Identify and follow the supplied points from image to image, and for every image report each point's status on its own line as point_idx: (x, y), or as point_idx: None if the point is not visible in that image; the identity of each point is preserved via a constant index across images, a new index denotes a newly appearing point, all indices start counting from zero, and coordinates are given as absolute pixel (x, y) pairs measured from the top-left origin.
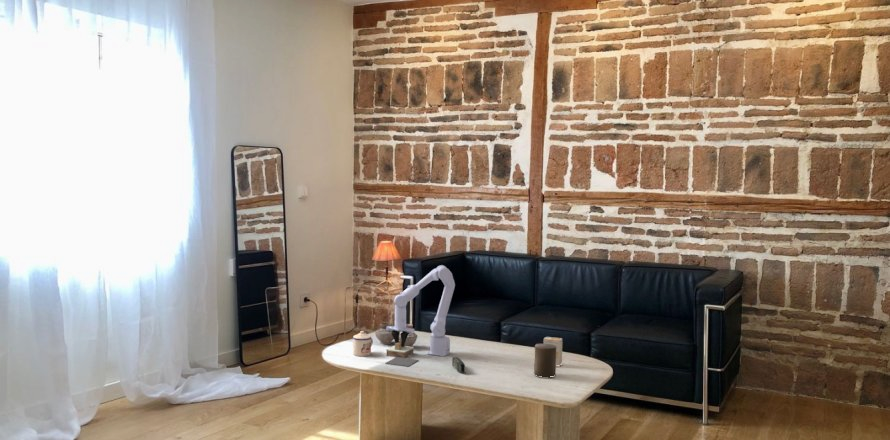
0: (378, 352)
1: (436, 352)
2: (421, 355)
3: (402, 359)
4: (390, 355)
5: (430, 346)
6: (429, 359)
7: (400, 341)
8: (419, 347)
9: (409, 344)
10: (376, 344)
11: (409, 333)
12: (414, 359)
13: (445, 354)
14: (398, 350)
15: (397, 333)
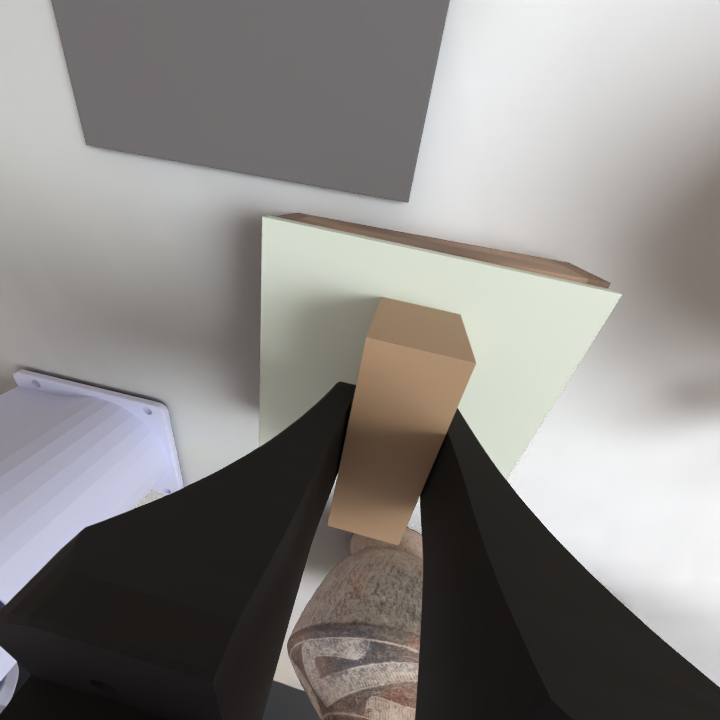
0: (687, 399)
1: (70, 405)
2: (193, 367)
3: (279, 68)
4: (510, 253)
5: (108, 474)
6: (46, 242)
7: (396, 506)
8: (311, 550)
9: (359, 556)
10: (678, 612)
11: (342, 702)
12: (137, 140)
13: (14, 389)
14: (385, 275)
15: (458, 712)
